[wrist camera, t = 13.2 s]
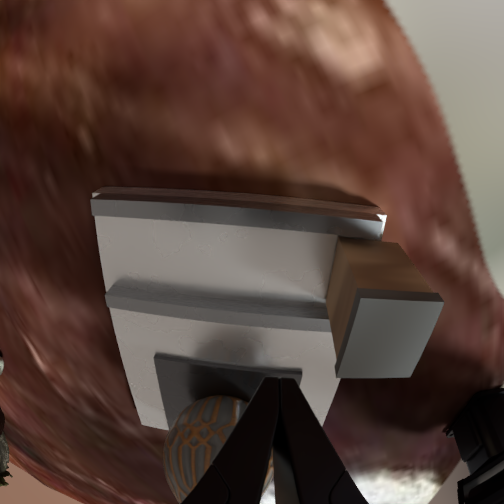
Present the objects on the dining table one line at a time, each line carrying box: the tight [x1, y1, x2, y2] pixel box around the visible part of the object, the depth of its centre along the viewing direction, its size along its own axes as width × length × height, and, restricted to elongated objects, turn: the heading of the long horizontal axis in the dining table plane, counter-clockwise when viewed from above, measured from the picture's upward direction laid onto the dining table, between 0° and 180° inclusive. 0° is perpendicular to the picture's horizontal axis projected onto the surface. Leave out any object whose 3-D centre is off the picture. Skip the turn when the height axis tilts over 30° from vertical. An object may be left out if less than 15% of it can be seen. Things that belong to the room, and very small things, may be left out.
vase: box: [163, 395, 274, 504], centre depth 16 cm, size 7×7×9 cm
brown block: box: [326, 237, 444, 378], centre depth 13 cm, size 3×4×5 cm
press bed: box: [90, 187, 387, 430], centre depth 18 cm, size 14×19×2 cm
